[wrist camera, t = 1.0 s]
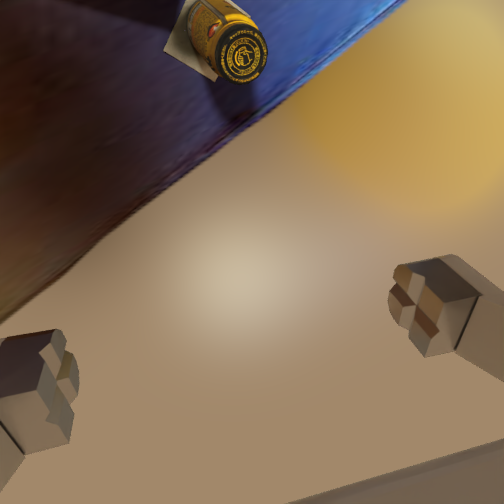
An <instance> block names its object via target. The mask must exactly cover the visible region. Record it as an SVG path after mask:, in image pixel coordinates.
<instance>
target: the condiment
mask: <svg viewBox="0 0 504 504" xmlns="http://www.w3.org/2000/svg"><path fill="white" fill-rule="evenodd" d="M250 17H251V16H250V15H248V14H247V13H246V12H245V11H243V10H242V9H241V8H240V7H238V6H237V5H236V4H234V3H233V2H232V1H231V0H186V1H185V4H184V6H183V8H182V10H181V13H180V15H179V17H178V20H177V22H176V24H175V26H174V28H173V30H172V32H171V34H170V37H169V39H168V42H167V44H166V46H165V48H164V50H163V51H165V52H166V53H168V54H170V55H171V56H173V57H175V58H176V59H178V60H180V61H181V62H183V63H185V64H186V65H188V66H190V67H191V68H193V69H195V70H196V71H198V72H200V73H201V74H203V75H204V76H206V77H208V78H209V79H211V80H213V81H214V82H215V81H216V79H217V77H218V75H219V76H221V77H223V78H224V79H226V80H227V81H229V82H230V83H233V84H238V85H242V84H249V83H250V82H251V81H253V80H254V79H256V78H258V76H259V75H260V74H261V72H262V71H263V69H264V67H265V65H266V62H267V55H268V49H267V44H266V42H265V39H264V37H263V35H262V33H261V32H260V31H259V30H258V28H257V26H256V25H255V23H254V22H253V21H252V20H251V19H250ZM184 30H185V31H184Z"/></svg>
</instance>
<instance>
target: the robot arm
mask: <svg viewBox="0 0 504 504" xmlns="http://www.w3.org/2000/svg"><path fill="white" fill-rule="evenodd" d="M393 279H394V280H395V282H396V284H395V285H394V286H393V287H392V289H391V290H390V291H389V296H388V305H389V311H390V313H391V315H392V317H393V319H394V320H395V321H396V323H397V324H398V325H399V326H401V327H403V328H406V329H407V330H409V339H410V340H411V341H412V343H413V344H414V345H415V346H416V348H417V349H418V350H419V351H420V353H421V354H422V355H423V356H424V357H430V356H435V355H440V354H444V353H449V352H453V351H456V352H455V353H456V354H458V355H460V356H461V357H463V358H464V359H466V360H468V361H469V362H471V363H473V364H474V365H476V366H478V367H479V368H481V369H483V370H484V371H486V372H488V373H489V374H491V375H493V376H494V377H496V378H498V379H499V380H501V381H503V382H504V292H503V291H502V290H501V289H499V288H498V287H497V286H495V285H494V284H493V283H492V282H490V281H489V280H488V279H487V278H485V277H484V276H483V275H481V274H480V273H479V272H478V271H476V270H475V269H474V268H473V267H471V266H470V265H469V264H467V263H466V262H465V261H464V260H462V259H461V258H460V257H458V256H456V255H453V254H449V255H444V256H439V257H434V258H432V259H426V260H421V261H416V262H410V263H405V264H400V265H398V266H397V267H396V269H395V270H394V275H393ZM66 342H67V341H66V338H65V336H64V335H63V333H62V331H61V330H59V329H53V330H47V331H41V332H35V333H29V334H23V335H16V336H10V337H7V338H1V339H0V492H1V491H2V489H3V488H4V487H5V485H6V484H7V482H8V481H9V480H10V478H11V477H12V475H13V474H14V472H15V471H16V470H17V468H18V467H19V466H20V464H21V463H22V462H23V460H24V459H25V456H24V455H28V454H32V453H35V452H39V451H43V450H46V449H50V448H54V447H58V446H61V445H65V444H69V441H70V436H71V430H72V424H73V419H74V412H73V411H72V409H71V407H70V404H71V403H72V402H73V401H74V399H75V398H76V397H77V396H78V390H79V370H78V366H77V362H76V359H75V357H74V355H73V354H72V353H70V352H68V351H65V346H66ZM286 504H504V439H500V440H497V441H494V442H491V443H487V444H484V445H480V446H477V447H473V448H470V449H467V450H464V451H460V452H457V453H453V454H450V455H447V456H443V457H440V458H437V459H433V460H430V461H427V462H423V463H420V464H417V465H413V466H410V467H407V468H403V469H400V470H396V471H393V472H390V473H386V474H383V475H380V476H377V477H373V478H370V479H366V480H363V481H360V482H356V483H353V484H350V485H346V486H343V487H340V488H336V489H333V490H330V491H326V492H323V493H320V494H316V495H313V496H309V497H306V498H303V499H299V500H296V501H293V502H289V503H286Z"/></svg>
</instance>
